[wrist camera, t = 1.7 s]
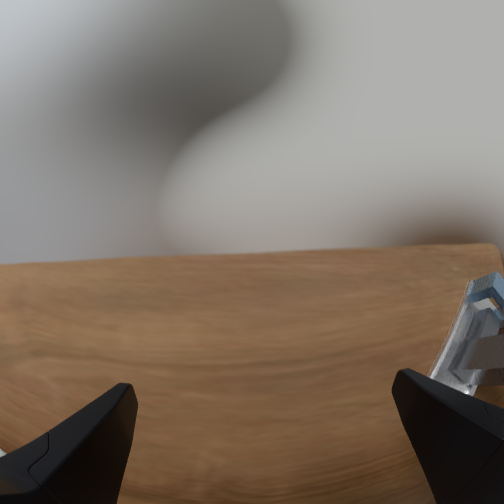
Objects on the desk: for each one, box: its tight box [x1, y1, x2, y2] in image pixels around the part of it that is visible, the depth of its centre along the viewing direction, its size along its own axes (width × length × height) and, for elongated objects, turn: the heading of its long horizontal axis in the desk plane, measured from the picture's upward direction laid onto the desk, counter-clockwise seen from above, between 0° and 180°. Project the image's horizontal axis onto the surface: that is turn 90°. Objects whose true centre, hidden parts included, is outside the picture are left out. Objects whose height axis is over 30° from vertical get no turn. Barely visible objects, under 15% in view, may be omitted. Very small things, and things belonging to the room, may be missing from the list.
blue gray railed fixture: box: [426, 271, 504, 396], centre depth 19 cm, size 16×8×5 cm, turn 140°
